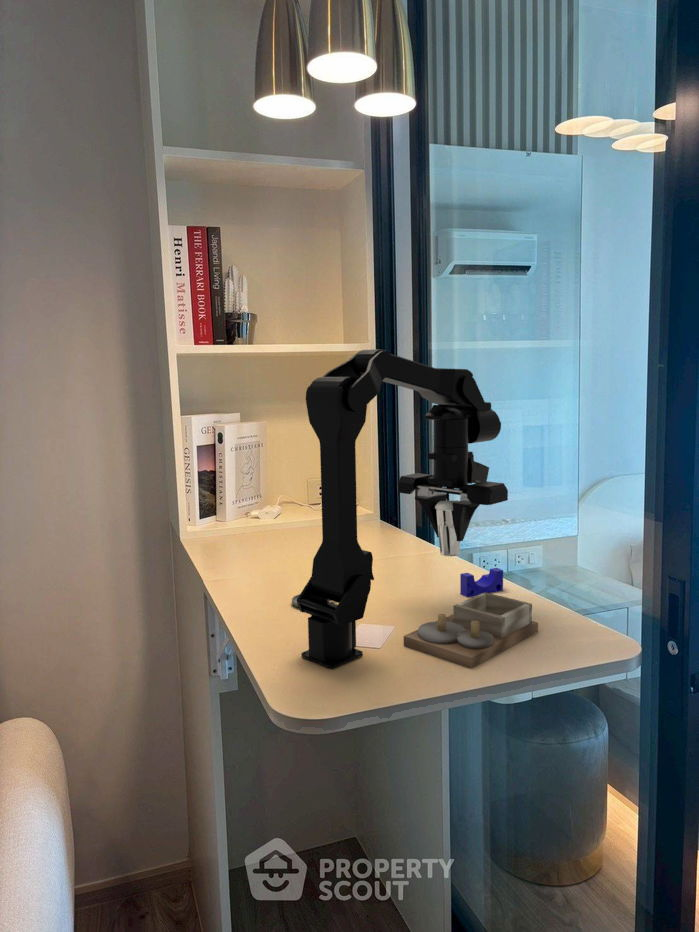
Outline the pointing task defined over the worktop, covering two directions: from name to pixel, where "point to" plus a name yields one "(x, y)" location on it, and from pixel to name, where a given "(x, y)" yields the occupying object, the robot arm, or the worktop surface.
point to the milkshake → (447, 528)
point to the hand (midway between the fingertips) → (450, 539)
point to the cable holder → (481, 583)
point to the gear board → (475, 630)
